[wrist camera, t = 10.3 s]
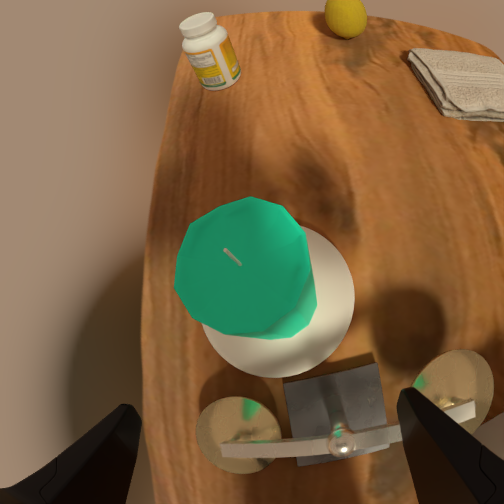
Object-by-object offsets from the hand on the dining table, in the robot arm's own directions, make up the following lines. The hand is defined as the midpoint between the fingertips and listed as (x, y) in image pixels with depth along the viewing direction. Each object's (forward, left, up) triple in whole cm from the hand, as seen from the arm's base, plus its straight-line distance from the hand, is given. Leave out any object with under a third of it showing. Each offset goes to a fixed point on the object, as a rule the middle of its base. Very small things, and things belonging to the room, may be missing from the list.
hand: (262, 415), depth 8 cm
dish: (+6, +1, -13) cm, 15 cm away
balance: (-4, -2, -13) cm, 14 cm away
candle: (+6, 0, -13) cm, 14 cm away
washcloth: (+25, -30, -14) cm, 41 cm away
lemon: (+37, -16, -14) cm, 43 cm away
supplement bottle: (+34, +2, -14) cm, 37 cm away
